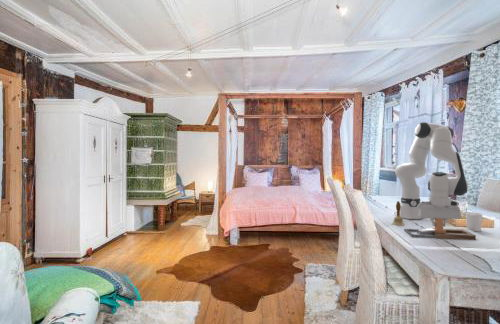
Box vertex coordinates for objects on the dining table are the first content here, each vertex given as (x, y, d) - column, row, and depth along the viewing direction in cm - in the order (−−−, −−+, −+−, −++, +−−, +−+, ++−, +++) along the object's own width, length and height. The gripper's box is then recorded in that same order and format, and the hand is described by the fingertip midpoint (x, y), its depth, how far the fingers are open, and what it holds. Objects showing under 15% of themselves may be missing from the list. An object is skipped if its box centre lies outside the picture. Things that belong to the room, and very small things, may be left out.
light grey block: (424, 233, 162) (424, 228, 162) (432, 233, 162) (432, 228, 161) (427, 235, 158) (427, 230, 158) (435, 235, 158) (435, 230, 157)
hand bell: (406, 228, 178) (406, 202, 178) (392, 227, 181) (392, 202, 180) (404, 224, 186) (404, 200, 185) (390, 223, 189) (390, 200, 188)
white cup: (480, 232, 166) (480, 215, 166) (463, 229, 172) (464, 213, 172) (483, 230, 171) (483, 213, 171) (467, 227, 177) (467, 211, 177)
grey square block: (417, 234, 163) (417, 229, 163) (424, 234, 162) (424, 229, 162) (419, 236, 159) (419, 230, 159) (427, 236, 158) (427, 231, 158)
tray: (404, 232, 168) (404, 228, 168) (426, 233, 166) (426, 229, 166) (411, 239, 156) (411, 234, 156) (436, 240, 154) (436, 235, 154)
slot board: (425, 233, 167) (425, 227, 167) (462, 234, 163) (462, 228, 163) (436, 240, 153) (436, 234, 153) (476, 242, 150) (476, 236, 149)
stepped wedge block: (432, 233, 162) (431, 215, 162) (441, 233, 161) (441, 215, 161) (436, 235, 157) (435, 217, 157) (446, 235, 156) (445, 217, 156)
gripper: (420, 202, 157) (420, 227, 158) (462, 202, 154) (462, 228, 154) (416, 200, 163) (416, 224, 164) (456, 200, 160) (455, 225, 160)
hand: (438, 226), depth 159 cm, fingers closed on stepped wedge block, 3 cm apart
